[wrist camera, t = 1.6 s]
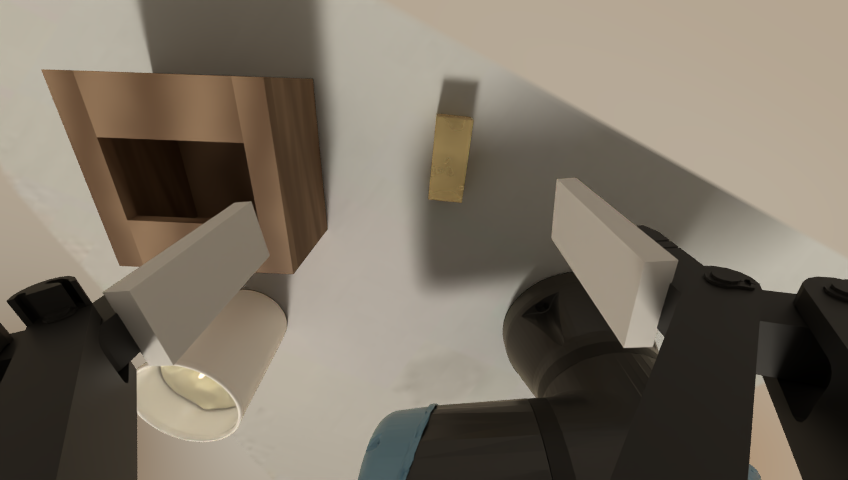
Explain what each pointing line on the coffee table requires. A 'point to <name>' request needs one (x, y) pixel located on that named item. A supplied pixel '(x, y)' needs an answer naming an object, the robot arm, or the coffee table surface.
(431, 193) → the yellow rectangular block
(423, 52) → the coffee table surface
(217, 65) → the coffee table surface
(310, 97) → the box
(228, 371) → the candle holder
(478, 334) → the coffee table surface
